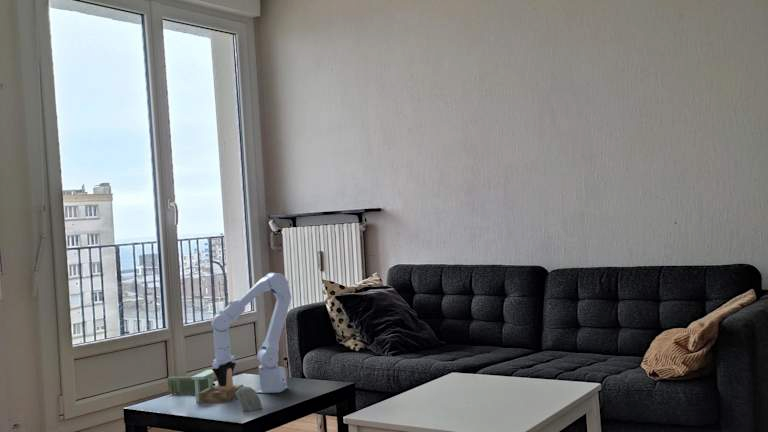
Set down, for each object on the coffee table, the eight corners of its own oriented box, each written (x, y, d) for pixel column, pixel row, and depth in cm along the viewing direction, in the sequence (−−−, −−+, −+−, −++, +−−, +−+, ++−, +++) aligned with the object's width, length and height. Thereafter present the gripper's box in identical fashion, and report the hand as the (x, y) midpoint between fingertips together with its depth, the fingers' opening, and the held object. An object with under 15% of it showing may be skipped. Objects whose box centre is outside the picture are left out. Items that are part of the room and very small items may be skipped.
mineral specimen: (244, 404, 275) (246, 381, 275) (263, 411, 271) (266, 388, 270) (229, 409, 269) (232, 386, 268) (249, 416, 265) (251, 392, 264)
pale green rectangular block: (222, 394, 299) (220, 369, 299) (206, 402, 286) (203, 376, 286) (210, 394, 300) (208, 369, 300) (193, 403, 288) (191, 376, 288)
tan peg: (233, 389, 293) (231, 367, 293) (228, 392, 289) (226, 370, 289) (223, 389, 294) (221, 368, 294) (218, 392, 290) (216, 370, 290)
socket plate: (243, 393, 296) (243, 384, 296) (229, 401, 285) (228, 392, 285) (214, 394, 299) (213, 385, 299) (199, 402, 288) (198, 393, 288)
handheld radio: (172, 392, 311) (228, 392, 303) (167, 395, 308) (223, 394, 300) (171, 375, 311) (226, 374, 303) (166, 378, 308) (222, 377, 299)
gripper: (221, 344, 299) (224, 380, 299) (203, 351, 285) (206, 389, 285) (238, 343, 298) (241, 379, 298) (221, 350, 284) (224, 388, 284)
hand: (225, 384), depth 291 cm, fingers closed on tan peg, 4 cm apart
